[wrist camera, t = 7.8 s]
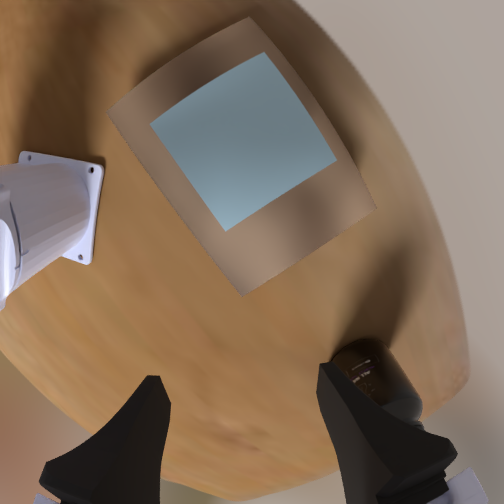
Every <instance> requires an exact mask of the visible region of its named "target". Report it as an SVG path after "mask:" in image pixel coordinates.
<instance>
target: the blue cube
mask: <svg viewBox="0 0 504 504" xmlns="http://www.w3.org/2000/svg"><path fill="white" fill-rule="evenodd" d="M150 126H151V127H152V129H153V130H154V131H155V133H156V134H157V136H158V137H159V139H160V140H161V141H162V143H163V144H164V146H165V147H166V149H167V150H168V151H169V153H170V154H171V156H172V157H173V159H174V160H175V161H176V163H177V164H178V166H179V167H180V168H181V170H182V171H183V173H184V174H185V176H186V177H187V178H188V180H189V181H190V183H191V184H192V185H193V187H194V188H195V190H196V191H197V192H198V194H199V195H200V197H201V198H202V200H203V201H204V202H205V204H206V205H207V207H208V208H209V209H210V211H211V212H212V214H213V215H214V216H215V218H216V219H217V221H218V222H219V223H220V225H221V226H222V228H223V229H224V230H225V232H226V231H227V230H229V229H230V228H232V227H233V226H235V225H236V224H238V223H239V222H241V221H242V220H244V219H245V218H247V217H248V216H250V215H251V214H253V213H254V212H256V211H257V210H259V209H261V208H262V207H264V206H265V205H267V204H268V203H270V202H271V201H273V200H274V199H276V198H278V197H279V196H281V195H282V194H284V193H285V192H287V191H289V190H290V189H292V188H293V187H295V186H296V185H298V184H300V183H301V182H303V181H304V180H306V179H308V178H309V177H311V176H312V175H314V174H316V173H317V172H319V171H321V170H322V169H324V168H325V167H327V166H329V165H330V164H332V163H334V162H335V161H337V159H336V157H335V156H334V154H333V152H332V151H331V149H330V147H329V145H328V144H327V142H326V140H325V139H324V137H323V135H322V134H321V132H320V131H319V129H318V127H317V126H316V124H315V123H314V121H313V119H312V118H311V116H310V115H309V113H308V112H307V110H306V109H305V107H304V106H303V104H302V103H301V101H300V100H299V98H298V97H297V95H296V94H295V93H294V91H293V90H292V88H291V87H290V85H289V84H288V83H287V81H286V80H285V79H284V77H283V76H282V74H281V73H280V72H279V70H278V69H277V68H276V66H275V65H274V64H273V63H272V61H271V60H270V59H269V57H268V56H267V55H266V54H265V52H263V53H261V54H259V55H257V56H255V57H253V58H251V59H249V60H247V61H245V62H243V63H242V64H240V65H238V66H236V67H234V68H233V69H231V70H229V71H227V72H226V73H224V74H222V75H220V76H219V77H217V78H215V79H214V80H212V81H210V82H209V83H207V84H206V85H204V86H202V87H201V88H199V89H198V90H196V91H195V92H193V93H192V94H190V95H189V96H187V97H186V98H184V99H183V100H181V101H180V102H179V103H177V104H176V105H174V106H173V107H172V108H170V109H169V110H167V111H166V112H165V113H163V114H162V115H161V116H159V117H158V118H157V119H155V120H154V121H153V122H152V123H150Z"/></svg>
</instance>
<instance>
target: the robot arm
mask: <svg viewBox="0 0 504 504" xmlns="http://www.w3.org/2000/svg"><path fill="white" fill-rule="evenodd" d="M30 156H31V160H30ZM92 167H93V168H94V172H93V173H91V168H92ZM103 175H104V168H103V166H102V165H100V164H95V163H90V162H85V161H80V160H75V159H70V158H64V157H59V156H53V155H47V154H41V153H35V152H29V151H22V152H21V153H20V156H19V162H18V163H14V164H7V165H1V166H0V311H1V310H2V309H3V308H4V307H5V301H6V298H7V296H8V295H9V294H10V293H11V292H12V291H14V290H15V289H16V288H18V287H19V286H20V285H21V284H23V283H24V282H25V281H27V280H28V279H29V278H30V277H32V276H33V275H34V274H36V273H37V272H39V271H40V270H41V269H43V268H44V267H45V266H47V265H48V264H50V263H51V262H52V261H54V260H55V259H57V258H58V257H60V256H63V257H65V258H68V259H71V260H74V261H77V262H80V263H83V264H86V265H88V264H90V263H91V262H92V257H93V245H94V235H95V226H96V218H97V210H98V204H99V197H100V191H101V186H102V180H103ZM80 254H81V255H82V256H83V259H82V258H81V257H80ZM316 394H317V398H318V402H319V407H320V411H321V414H322V416H323V419H324V422H325V424H326V427H327V430H328V432H329V435H330V438H331V440H332V443H333V445H334V448H335V451H336V455H337V459H338V463H339V467H340V471H341V476H342V481H343V486H344V492H345V498H346V503H347V504H487V503H488V502H489V500H488V498H487V496H486V494H485V492H484V490H483V488H482V486H481V484H480V483H479V481H478V479H477V477H476V475H475V474H474V472H473V470H472V468H471V467H468V468H467V469H466V470H464V471H462V472H461V473H459V474H457V475H456V476H454V477H453V478H451V479H450V480H448V481H447V482H445V480H444V478H445V477H446V473H445V471H444V470H445V469H446V468H447V467H448V466H449V465H450V463H452V462H453V461H454V459H455V458H456V456H457V454H458V453H457V451H456V449H455V448H454V446H453V444H452V443H451V441H450V440H449V439H448V438H444V437H441V436H438V435H434V434H431V433H428V432H426V431H423V430H421V429H418V428H416V427H414V426H412V425H410V424H408V423H406V422H404V421H402V420H400V419H399V418H397V417H395V416H394V415H392V414H391V413H389V412H388V411H386V410H385V409H383V408H382V407H380V406H379V405H378V404H377V403H375V402H374V401H373V400H372V399H370V398H369V397H368V396H367V395H366V394H365V393H363V392H362V391H361V390H360V389H359V388H358V387H357V386H356V385H355V384H354V383H353V382H352V381H351V380H350V379H349V378H348V377H347V376H346V375H345V374H344V373H343V372H342V371H341V370H340V368H339V367H338V366H337V365H336V364H335V363H334V362H333V361H332V362H327V363H321V364H320V365H319V374H318V383H317V391H316ZM170 411H171V402H170V400H169V398H168V395H167V393H166V390H165V388H164V386H163V383H162V381H161V378H160V376H151V375H147V376H146V378H145V379H144V380H143V381H142V383H141V384H140V385H139V387H138V388H137V389H136V390H135V392H134V393H133V394H132V396H131V397H130V398H129V399H128V400H127V402H126V403H125V404H124V405H123V406H122V408H121V409H120V410H119V411H118V412H117V413H116V414H115V415H114V416H113V418H112V419H111V420H110V421H109V422H108V423H107V424H106V425H105V426H104V427H102V428H101V429H100V430H99V431H98V432H97V433H96V434H94V435H93V436H92V437H90V438H89V439H88V440H86V441H85V442H84V443H82V444H81V445H79V446H78V447H76V448H74V449H73V450H71V451H69V452H67V453H66V454H64V455H62V456H59V457H57V458H55V459H53V460H50V461H48V462H46V464H45V467H44V469H43V472H42V474H41V477H40V479H39V483H40V485H41V486H43V487H44V488H45V489H46V490H48V491H49V492H50V493H52V494H53V495H55V496H56V497H57V498H59V499H60V500H61V503H60V504H160V471H161V461H162V456H163V451H164V446H165V441H166V437H167V432H168V427H169V422H170ZM33 504H59V503H57V502H55V501H53V500H51V499H49V498H47V497H45V496H43V495H41V494H39V493H37V494H36V497H35V500H34V503H33Z"/></svg>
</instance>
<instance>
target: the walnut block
mask: <svg viewBox="0 0 504 504" xmlns="http://www.w3.org/2000/svg"><path fill="white" fill-rule="evenodd" d="M263 52H265V54H266V55H267V56H268V57H269V59H270V60H271V61H272V63H273V64H274V65H275V66H276V68H277V69H278V70H279V72H280V73H281V74H282V76H283V77H284V79H285V80H286V81H287V83H288V84H289V85H290V87H291V88H292V90H293V91H294V93H295V94H296V95H297V97H298V98H299V100H300V101H301V103H302V104H303V106H304V107H305V109H306V110H307V112H308V113H309V115H310V116H311V118H312V119H313V121H314V123H315V124H316V126H317V127H318V129H319V131H320V132H321V134H322V135H323V137H324V139H325V140H326V142H327V144H328V145H329V147H330V149H331V151H332V152H333V154H334V156H335V157H336V159H337V161H335V162H334V163H332V164H330V165H329V166H327V167H325V168H324V169H322V170H321V171H319V172H317V173H316V174H314V175H312V176H311V177H309V178H308V179H306V180H304V181H303V182H301V183H300V184H298V185H296V186H295V187H293V188H292V189H290V190H289V191H287V192H285V193H284V194H282V195H281V196H279V197H278V198H276V199H274V200H273V201H271V202H270V203H268V204H267V205H265V206H264V207H262V208H261V209H259V210H257V211H256V212H254V213H253V214H251V215H250V216H248V217H247V218H245V219H244V220H242V221H241V222H239V223H238V224H236V225H235V226H233V227H232V228H230V229H229V230H227V231H226V232H225V230H224V229H223V228H222V226H221V225H220V223H219V222H218V221H217V219H216V218H215V216H214V215H213V214H212V212H211V211H210V209H209V208H208V207H207V205H206V204H205V202H204V201H203V200H202V198H201V197H200V195H199V194H198V192H197V191H196V190H195V188H194V187H193V185H192V184H191V183H190V181H189V180H188V178H187V177H186V176H185V174H184V173H183V171H182V170H181V168H180V167H179V166H178V164H177V163H176V161H175V160H174V159H173V157H172V156H171V154H170V153H169V151H168V150H167V149H166V147H165V146H164V144H163V143H162V141H161V140H160V139H159V137H158V136H157V134H156V133H155V131H154V130H153V129H152V127H151V126H150V123H152V122H153V121H154V120H155V119H157V118H158V117H159V116H161V115H162V114H163V113H165V112H166V111H167V110H169V109H170V108H172V107H173V106H174V105H176V104H177V103H179V102H180V101H181V100H183V99H184V98H186V97H187V96H189V95H190V94H192V93H193V92H195V91H196V90H198V89H199V88H201V87H202V86H204V85H206V84H207V83H209V82H210V81H212V80H214V79H215V78H217V77H219V76H220V75H222V74H224V73H226V72H227V71H229V70H231V69H233V68H234V67H236V66H238V65H240V64H242V63H243V62H245V61H247V60H249V59H251V58H253V57H255V56H257V55H259V54H261V53H263ZM106 113H107V115H108V116H109V118H110V119H111V121H112V122H113V124H114V125H115V127H116V128H117V130H118V131H119V133H120V134H121V136H122V137H123V138H124V140H125V141H126V143H127V144H128V146H129V147H130V149H131V150H132V151H133V153H134V154H135V156H136V157H137V159H138V160H139V161H140V163H141V164H142V166H143V167H144V168H145V170H146V171H147V173H148V174H149V175H150V177H151V178H152V180H153V181H154V182H155V184H156V185H157V187H158V188H159V189H160V191H161V192H162V193H163V195H164V196H165V197H166V199H167V200H168V202H169V203H170V204H171V206H172V207H173V208H174V210H175V211H176V212H177V214H178V215H179V216H180V218H181V219H182V220H183V222H184V223H185V224H186V226H187V227H188V228H189V230H190V231H191V232H192V234H193V235H194V236H195V238H196V239H197V240H198V242H199V243H200V244H201V245H202V247H203V248H204V249H205V251H206V252H207V253H208V255H209V256H210V257H211V258H212V260H213V261H214V262H215V264H216V265H217V266H218V267H219V269H220V270H221V271H222V273H223V274H224V275H225V276H226V278H227V279H228V280H229V281H230V283H231V284H232V285H233V286H234V288H235V289H236V290H237V291H238V293H239V294H240V295H241V296H242V297H243V296H244V295H246V294H248V293H249V292H251V291H252V290H254V289H256V288H257V287H259V286H260V285H262V284H264V283H265V282H267V281H268V280H270V279H271V278H273V277H275V276H276V275H278V274H279V273H281V272H282V271H284V270H286V269H287V268H289V267H290V266H292V265H293V264H295V263H296V262H298V261H299V260H301V259H303V258H304V257H306V256H307V255H309V254H310V253H312V252H313V251H315V250H316V249H318V248H319V247H321V246H322V245H324V244H325V243H327V242H328V241H330V240H331V239H333V238H334V237H336V236H337V235H339V234H340V233H342V232H343V231H345V230H346V229H348V228H349V227H351V226H352V225H354V224H355V223H357V222H358V221H360V220H361V219H362V218H364V217H365V216H367V215H368V214H370V213H371V212H373V211H374V210H375V209H377V207H376V205H375V203H374V200H373V198H372V196H371V194H370V192H369V190H368V188H367V186H366V184H365V182H364V180H363V178H362V176H361V174H360V173H359V171H358V169H357V167H356V165H355V163H354V161H353V160H352V158H351V156H350V154H349V152H348V151H347V149H346V147H345V145H344V144H343V142H342V140H341V139H340V137H339V135H338V134H337V132H336V130H335V129H334V127H333V125H332V124H331V122H330V121H329V119H328V117H327V116H326V114H325V113H324V111H323V110H322V108H321V107H320V105H319V104H318V102H317V101H316V99H315V98H314V96H313V95H312V93H311V92H310V90H309V89H308V88H307V86H306V85H305V83H304V82H303V81H302V79H301V78H300V77H299V75H298V74H297V73H296V71H295V70H294V69H293V67H292V66H291V65H290V63H289V62H288V61H287V59H286V58H285V57H284V56H283V54H282V53H281V52H280V51H279V49H278V48H277V47H276V46H275V45H274V43H273V42H272V41H271V40H270V39H269V37H268V36H267V35H266V34H265V33H264V32H263V31H262V29H261V28H260V27H259V26H258V25H257V24H256V23H255V22H254V21H253V20H252V18H251V17H247V18H245V19H243V20H241V21H239V22H237V23H235V24H233V25H231V26H229V27H227V28H225V29H223V30H221V31H219V32H217V33H215V34H213V35H212V36H210V37H208V38H206V39H205V40H203V41H201V42H199V43H198V44H196V45H194V46H193V47H191V48H189V49H188V50H186V51H185V52H183V53H181V54H180V55H178V56H177V57H175V58H174V59H172V60H171V61H169V62H168V63H166V64H165V65H164V66H162V67H161V68H159V69H158V70H156V71H155V72H154V73H152V74H151V75H150V76H148V77H147V78H146V79H144V80H143V81H142V82H141V83H139V84H138V85H137V86H135V87H134V88H133V89H132V90H131V91H129V92H128V93H127V94H126V95H125V96H123V97H122V98H121V99H120V100H119V101H118V102H116V103H115V104H114V105H113V106H112V107H111V108H110V109H109V110H107V111H106Z"/></svg>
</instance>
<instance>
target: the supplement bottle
mask: <svg viewBox="0 0 504 504" xmlns="http://www.w3.org/2000/svg"><path fill="white" fill-rule="evenodd" d="M332 361H333V362H334V363H335V364H336V365H337V366H338V367H339V368H340V370H341V371H342V372H343V373H344V374H345V375H346V376H347V377H348V378H349V379H350V380H351V381H352V382H353V383H354V384H355V385H356V386H357V387H358V388H359V389H360V390H361V391H362V392H363V393H365V394H366V395H367V396H368V397H369V398H370V399H372V400H373V401H374V402H375V403H377V404H378V405H379V406H380V407H382V408H383V409H385V410H386V411H388V412H389V413H391V414H392V415H394V416H395V417H397V418H399V419H400V420H402V421H404V422H406V423H408V424H410V425H412V426H414V427H416V428H418V429H421V430H423V431H425V430H424V426H423V424H422V422H420V421H418V420H419V418H420V416H421V413H422V409H423V404H422V400H421V398H420V396H419V394H418V393H417V391H416V390H415V388H414V387H413V385H412V383H411V382H410V380H409V379H408V377H407V376H406V374H405V373H404V371H403V369H402V368H401V366H400V365H399V363H398V362H397V360H396V359H395V357H394V356H393V354H392V353H391V351H390V350H389V349H388V347H387V346H386V345H385V344H384V343H383V342H381V341H379V340H376V339H363V340H359V341H356V342H354V343H352V344H350V345H348V346H346V347H345V348H343V349H342V350H341V351H340V352H339V353H338V354H337V355H336V356H335V357H334V358H333V360H332Z"/></svg>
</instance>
